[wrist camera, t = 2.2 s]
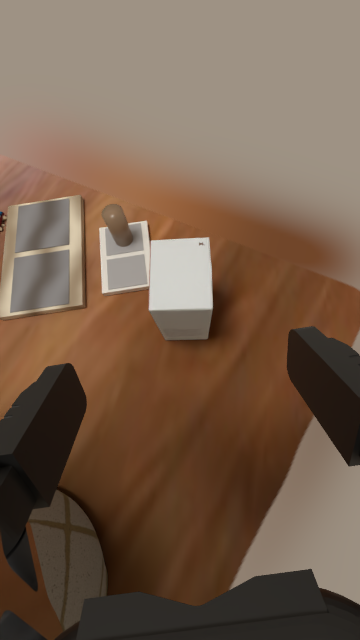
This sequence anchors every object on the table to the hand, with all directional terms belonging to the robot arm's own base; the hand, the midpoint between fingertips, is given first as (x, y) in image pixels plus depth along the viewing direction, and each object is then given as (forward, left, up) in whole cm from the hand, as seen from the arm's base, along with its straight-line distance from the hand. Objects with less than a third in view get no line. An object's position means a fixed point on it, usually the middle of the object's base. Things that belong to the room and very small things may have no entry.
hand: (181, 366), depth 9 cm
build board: (-21, +25, -26) cm, 41 cm away
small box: (+1, +11, -26) cm, 28 cm away
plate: (-7, +22, -26) cm, 34 cm away
